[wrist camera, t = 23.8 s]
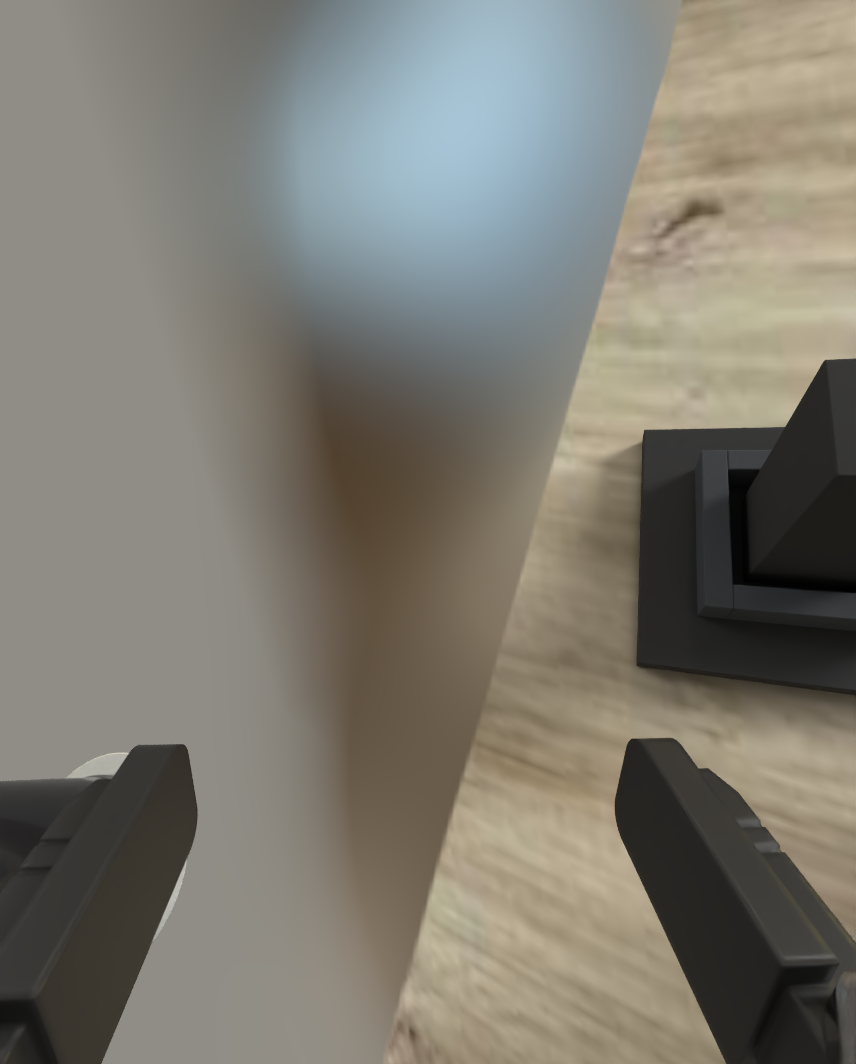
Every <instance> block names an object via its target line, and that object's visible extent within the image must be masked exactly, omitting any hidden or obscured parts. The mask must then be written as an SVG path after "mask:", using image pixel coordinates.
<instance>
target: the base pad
mask: <svg viewBox="0 0 856 1064" xmlns="http://www.w3.org/2000/svg"><path fill="white" fill-rule="evenodd" d="M784 428H785V427H772V428H722V429H672V430H644V435H643V445H642V483H641V520H640V558H639V596H638V634H637V666H640V667H647V668H655V669H662V670H670V671H678V672H685V673H693V674H700V675H708V676H715V677H723V678H731V679H738V680H746V681H753V682H761V683H768V684H776V685H783V686H791V687H799V688H806V689H814V690H821V691H829V692H836V693H844V694H851V695H856V591H855V592H850V591H839V590H828V589H817V588H806V587H795V586H784V585H773V584H762V583H751V582H744V577H743V540H742V503H741V502H742V500H743V498H744V497H745V495H746V493H747V492H748V490H749V488H750V486H751V485H752V483H753V481H754V480H755V478H756V476H757V475H758V473H759V471H760V469H761V468H762V466H763V464H764V463H765V461H766V459H767V457H768V456H769V454H770V452H771V451H772V449H773V447H774V446H775V444H776V442H777V440H778V439H779V437H780V435H781V434H782V432H783V430H784Z"/></svg>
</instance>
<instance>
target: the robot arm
mask: <svg viewBox="0 0 856 1064" xmlns="http://www.w3.org/2000/svg"><path fill="white" fill-rule="evenodd" d="M197 815H198V814H197V803H196V797H195V791H194V785H193V779H192V773H191V766H190V760H189V754H188V750H187V748H186V746H185V745H182V744H176V745H175V744H174V745H138V746H136V747H134V748H133V749H132V750H131V752H130V753H129V754H128V755H127V757H126V758H125V760H124V761H123V763H122V764H121V766H120V767H119V769H118V770H117V772H116V773H115V775H114V774H109V775H92V776H87V777H84V778H65V779H38V780H18V781H0V1064H101V1063H102V1061H103V1058H104V1056H105V1053H106V1051H107V1049H108V1046H109V1044H110V1041H111V1039H112V1036H113V1034H114V1032H115V1029H116V1027H117V1024H118V1022H119V1020H120V1017H121V1015H122V1013H123V1010H124V1008H125V1005H126V1003H127V1000H128V998H129V996H130V994H131V991H132V989H133V986H134V984H135V982H136V979H137V977H138V974H139V972H140V969H141V967H142V965H143V962H144V960H145V958H146V955H147V953H148V950H149V948H150V945H151V943H152V941H153V938H154V936H155V934H156V931H157V929H158V926H159V924H160V922H161V919H162V917H163V914H164V912H165V910H166V907H167V905H168V902H169V900H170V898H171V895H172V893H173V890H174V888H175V886H176V883H177V881H178V878H179V876H180V874H181V871H182V869H183V867H184V864H185V862H186V859H187V857H188V855H189V852H190V850H191V847H192V844H193V840H194V836H195V832H196V826H197ZM615 816H616V822H617V827H618V830H619V833H620V836H621V838H622V841H623V843H624V845H625V847H626V849H627V852H628V854H629V856H630V858H631V860H632V862H633V864H634V867H635V869H636V871H637V873H638V875H639V877H640V879H641V882H642V884H643V886H644V888H645V890H646V892H647V894H648V897H649V899H650V901H651V903H652V905H653V907H654V909H655V912H656V914H657V916H658V918H659V920H660V922H661V925H662V927H663V929H664V931H665V933H666V935H667V937H668V940H669V942H670V944H671V946H672V948H673V950H674V952H675V955H676V957H677V959H678V961H679V963H680V965H681V967H682V970H683V972H684V974H685V976H686V978H687V980H688V982H689V985H690V987H691V989H692V991H693V993H694V995H695V997H696V1000H697V1002H698V1004H699V1006H700V1008H701V1010H702V1012H703V1015H704V1017H705V1019H706V1021H707V1023H708V1025H709V1028H710V1030H711V1032H712V1034H713V1036H714V1038H715V1040H716V1043H717V1045H718V1047H719V1049H720V1051H721V1053H722V1055H723V1058H724V1060H725V1062H726V1064H856V942H855V941H854V940H853V939H852V937H851V936H850V935H849V933H848V932H847V931H846V930H845V928H844V927H843V926H842V925H841V923H840V922H839V921H838V919H837V918H836V917H835V916H834V914H833V913H832V912H831V910H830V909H829V908H828V907H827V905H826V904H825V903H824V902H823V900H822V899H821V898H820V896H819V895H818V894H817V893H816V891H815V890H814V889H813V887H812V886H811V885H810V884H809V882H808V881H807V880H806V879H805V877H804V876H803V875H802V873H801V872H800V871H799V870H798V868H797V867H796V866H795V864H794V863H793V862H792V861H791V859H790V858H789V857H788V856H787V854H786V853H785V852H781V850H780V845H779V844H778V843H777V841H776V840H775V839H774V838H773V836H772V835H771V834H770V833H769V831H768V830H767V829H766V827H762V826H761V823H760V820H759V818H758V817H757V816H756V815H755V813H754V812H753V811H752V810H751V808H750V807H749V806H748V804H747V803H746V802H745V801H744V799H743V798H742V797H741V795H740V794H739V793H738V792H737V791H736V790H735V789H733V788H732V787H731V786H730V785H728V784H727V783H726V782H725V781H723V780H722V779H721V778H720V777H718V776H717V775H716V774H715V773H713V772H712V771H711V770H710V769H708V768H705V769H698V767H697V766H696V764H695V763H694V762H693V760H692V759H691V758H690V756H689V755H688V754H687V752H686V751H685V749H684V748H683V747H682V745H681V744H680V743H679V742H678V741H677V740H675V739H673V738H647V739H631V740H630V741H629V742H628V744H627V747H626V752H625V756H624V761H623V765H622V770H621V775H620V779H619V784H618V788H617V793H616V798H615Z"/></svg>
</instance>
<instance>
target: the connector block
mask: <svg viewBox="0 0 856 1064" xmlns="http://www.w3.org/2000/svg"><path fill="white" fill-rule="evenodd" d="M741 503H742V540H743V577H744V582H751V583H762V584H773V585H784V586H795V587H806V588H817V589H828V590H839V591H850V592H855V591H856V359H836V360H825V361H824V362H823V364H822V365H821V367H820V369H819V370H818V372H817V374H816V376H815V377H814V379H813V381H812V382H811V384H810V386H809V388H808V389H807V391H806V393H805V394H804V396H803V398H802V399H801V401H800V403H799V405H798V406H797V408H796V410H795V411H794V413H793V415H792V417H791V418H790V420H789V422H788V423H787V425H786V427H785V428H784V430H783V432H782V434H781V435H780V437H779V439H778V440H777V442H776V444H775V446H774V447H773V449H772V451H771V452H770V454H769V456H768V457H767V459H766V461H765V463H764V464H763V466H762V468H761V469H760V471H759V473H758V475H757V476H756V478H755V480H754V481H753V483H752V485H751V486H750V488H749V490H748V492H747V493H746V495H745V497H744V498H743V500H742V502H741Z"/></svg>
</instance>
